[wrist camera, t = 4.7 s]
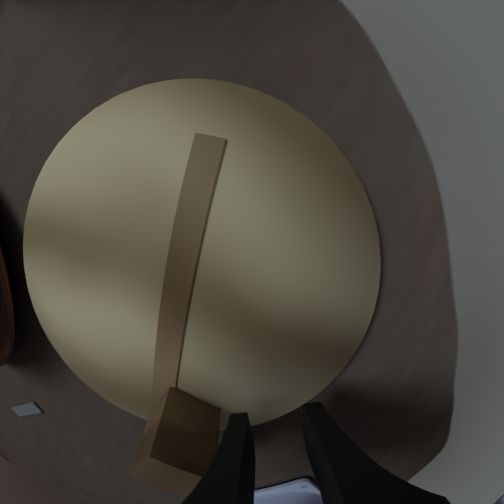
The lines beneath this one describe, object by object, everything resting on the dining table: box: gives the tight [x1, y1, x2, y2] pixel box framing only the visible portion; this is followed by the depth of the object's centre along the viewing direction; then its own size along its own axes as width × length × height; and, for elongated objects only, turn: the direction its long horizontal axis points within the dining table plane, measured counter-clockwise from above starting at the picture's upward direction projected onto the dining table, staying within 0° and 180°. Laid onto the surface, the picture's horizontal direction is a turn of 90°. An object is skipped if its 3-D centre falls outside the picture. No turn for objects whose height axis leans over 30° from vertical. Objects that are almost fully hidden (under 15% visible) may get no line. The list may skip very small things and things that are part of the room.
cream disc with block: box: [23, 78, 381, 497], centre depth 8 cm, size 15×15×5 cm
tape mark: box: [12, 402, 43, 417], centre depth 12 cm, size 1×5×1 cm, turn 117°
